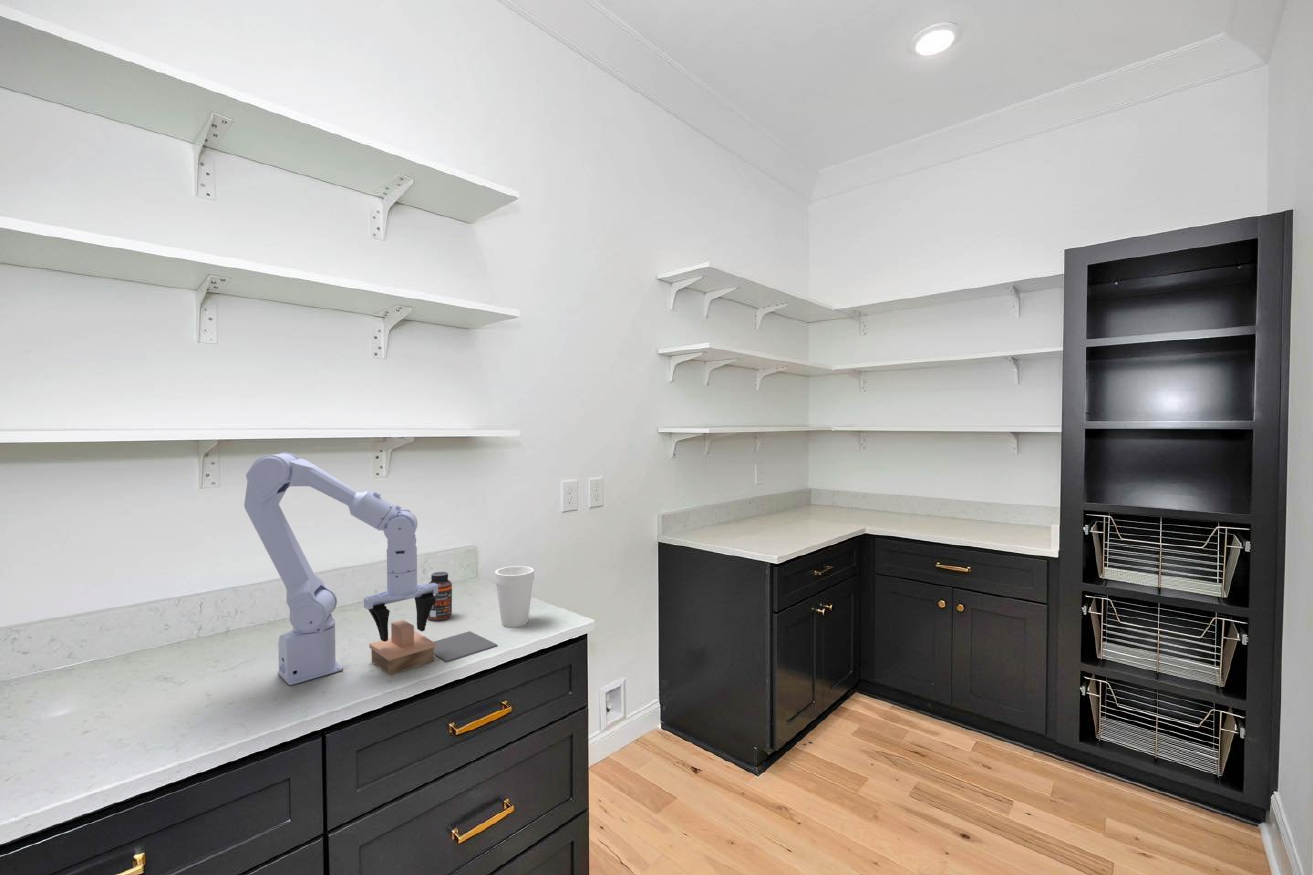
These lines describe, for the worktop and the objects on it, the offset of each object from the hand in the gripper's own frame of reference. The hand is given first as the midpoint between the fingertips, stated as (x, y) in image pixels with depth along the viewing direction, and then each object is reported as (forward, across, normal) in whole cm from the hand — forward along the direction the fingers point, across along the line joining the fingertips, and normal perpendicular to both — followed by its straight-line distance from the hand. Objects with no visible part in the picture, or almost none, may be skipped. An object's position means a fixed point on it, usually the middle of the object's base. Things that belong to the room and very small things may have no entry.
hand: (402, 634), depth 120 cm
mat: (+6, +12, -1) cm, 13 cm away
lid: (+3, 0, 0) cm, 3 cm away
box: (+6, 0, 0) cm, 6 cm away
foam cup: (+6, +29, +3) cm, 30 cm away
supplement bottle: (+6, +18, +20) cm, 28 cm away
